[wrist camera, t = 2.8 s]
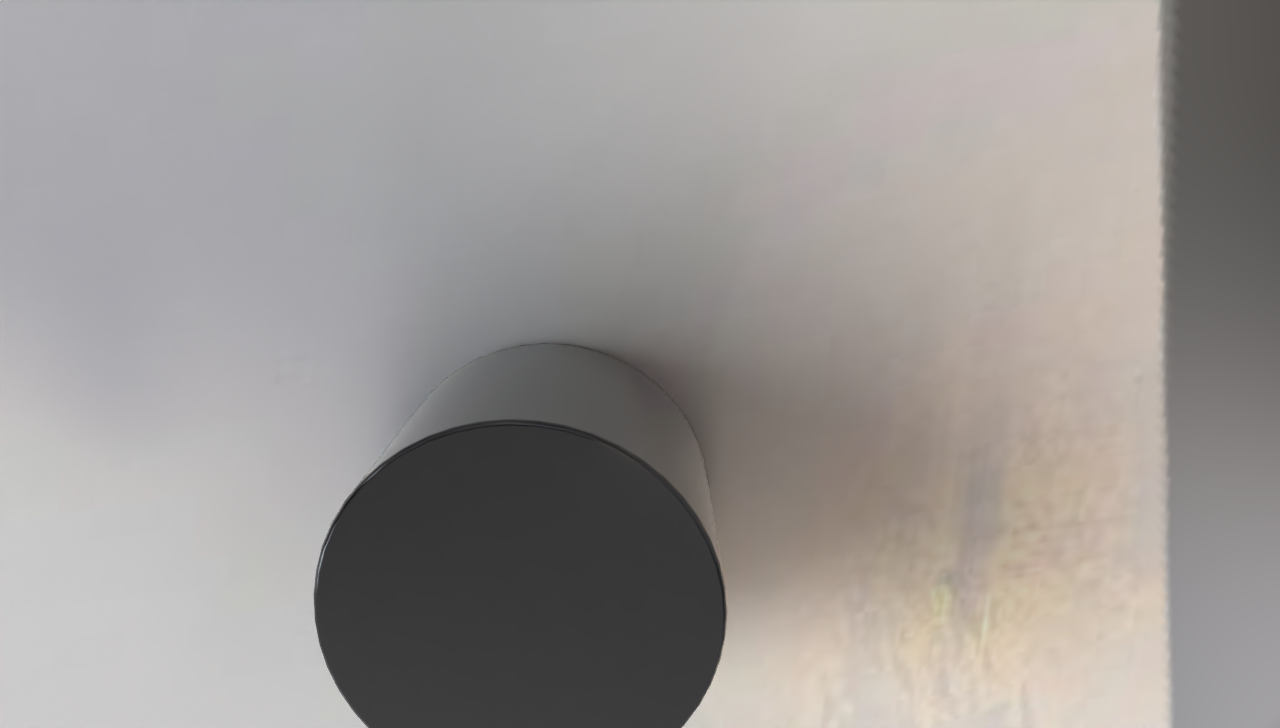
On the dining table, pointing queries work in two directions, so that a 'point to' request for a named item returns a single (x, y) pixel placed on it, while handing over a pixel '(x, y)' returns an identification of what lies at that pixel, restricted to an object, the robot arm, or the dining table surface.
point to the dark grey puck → (528, 556)
